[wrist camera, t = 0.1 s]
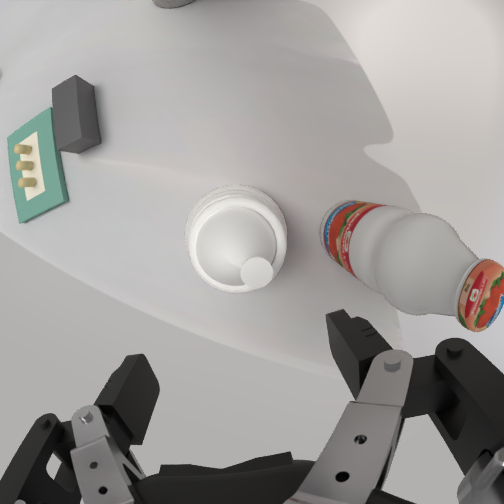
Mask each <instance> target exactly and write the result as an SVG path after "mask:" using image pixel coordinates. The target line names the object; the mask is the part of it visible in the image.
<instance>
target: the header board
mask: <svg viewBox="0 0 504 504" xmlns="http://www.w3.org/2000/svg"><path fill="white" fill-rule="evenodd" d="M7 140H8V154H9V164H10V173H11V180H12V187H13V193H14V199H15V204H16V209H17V214H18V219H19V223H25V222H26V221H28V220H30V219H32V218H34V217H36V216H38V215H40V214H42V213H44V212H46V211H48V210H50V209H52V208H54V207H56V206H58V205H61V204H63V203H65V202H67V201H69V199H68V195H67V190H66V185H65V180H64V175H63V169H62V163H61V157H60V151H58V150H57V145H56V137H55V128H54V117H53V108H52V107H50V108H48V109H47V110H45V111H43V112H42V113H40V114H39V115H37V116H36V117H34V118H33V119H32V120H30V121H29V122H27V123H26V124H24V125H23V126H22V127H20V128H19V129H18V130H16V131H15V132H14V133H12V134H11V135H10V136H9V137H7Z"/></svg>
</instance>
